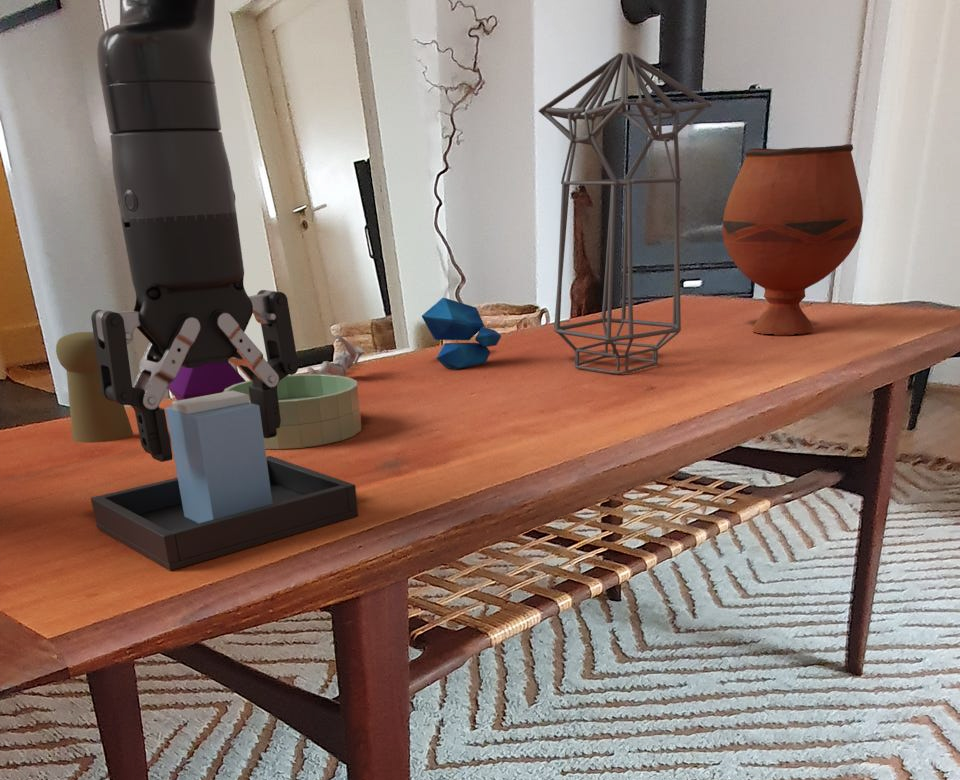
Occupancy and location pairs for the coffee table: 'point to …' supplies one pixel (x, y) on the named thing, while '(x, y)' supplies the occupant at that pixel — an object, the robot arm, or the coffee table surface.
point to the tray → (182, 542)
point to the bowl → (313, 410)
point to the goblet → (792, 225)
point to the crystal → (459, 333)
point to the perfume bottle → (204, 380)
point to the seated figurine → (340, 360)
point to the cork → (89, 393)
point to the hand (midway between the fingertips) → (215, 447)
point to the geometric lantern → (573, 114)
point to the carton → (219, 455)
